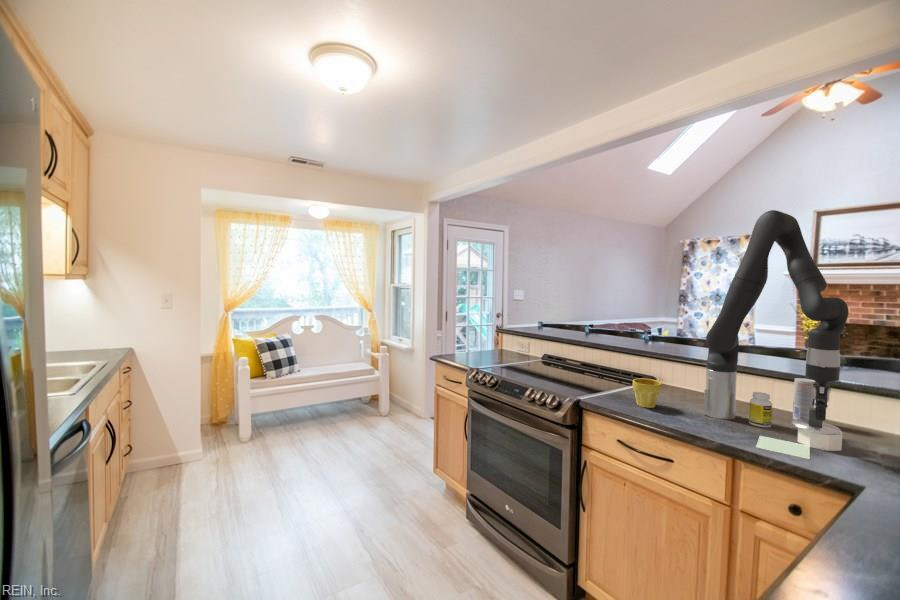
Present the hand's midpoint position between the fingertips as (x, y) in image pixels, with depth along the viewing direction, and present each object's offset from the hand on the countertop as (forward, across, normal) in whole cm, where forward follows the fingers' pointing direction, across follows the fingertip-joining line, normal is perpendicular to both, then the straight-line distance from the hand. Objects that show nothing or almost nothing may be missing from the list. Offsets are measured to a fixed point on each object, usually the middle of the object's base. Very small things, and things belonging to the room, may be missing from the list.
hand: (820, 416), depth 122 cm
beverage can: (+9, -24, -4) cm, 26 cm away
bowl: (+9, 0, 0) cm, 9 cm away
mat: (+9, +10, -8) cm, 16 cm away
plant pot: (+9, -6, -51) cm, 52 cm away
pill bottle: (+9, -9, -15) cm, 20 cm away
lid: (+4, 0, -1) cm, 4 cm away
